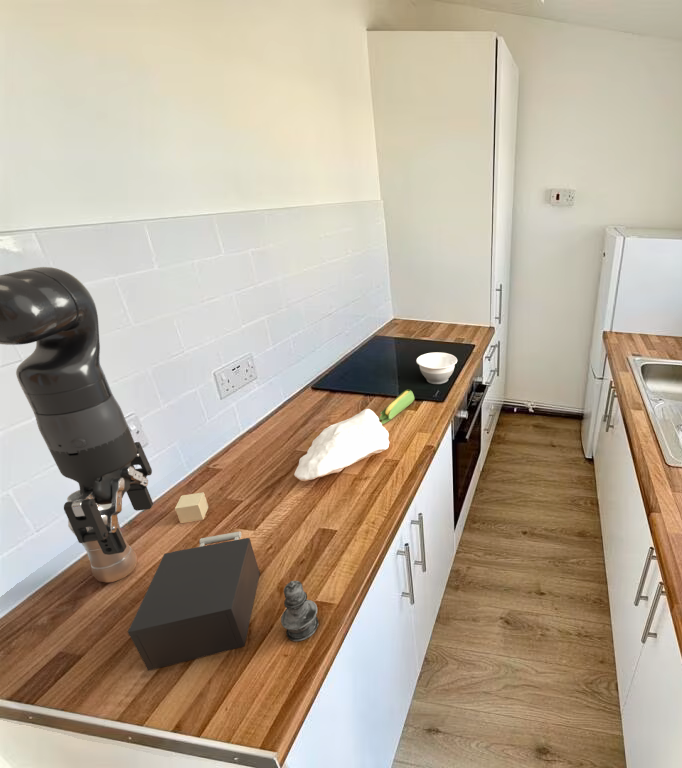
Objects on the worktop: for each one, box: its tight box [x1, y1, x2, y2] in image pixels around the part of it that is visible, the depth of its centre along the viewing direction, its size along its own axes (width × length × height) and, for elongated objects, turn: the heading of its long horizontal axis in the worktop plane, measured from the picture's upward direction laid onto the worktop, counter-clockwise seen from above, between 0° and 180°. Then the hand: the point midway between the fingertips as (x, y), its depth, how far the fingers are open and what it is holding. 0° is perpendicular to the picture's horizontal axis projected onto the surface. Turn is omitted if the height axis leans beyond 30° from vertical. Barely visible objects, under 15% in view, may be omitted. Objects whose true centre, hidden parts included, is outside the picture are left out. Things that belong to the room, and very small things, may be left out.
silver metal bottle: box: [66, 489, 138, 584], centre depth 82 cm, size 6×7×20 cm
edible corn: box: [379, 389, 415, 425], centre depth 148 cm, size 5×20×5 cm, turn 163°
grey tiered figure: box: [280, 580, 319, 642], centre depth 75 cm, size 6×6×12 cm
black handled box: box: [127, 537, 261, 672], centre depth 77 cm, size 16×14×10 cm
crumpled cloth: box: [293, 408, 390, 482], centre depth 122 cm, size 24×35×9 cm
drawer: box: [173, 530, 247, 552], centre depth 80 cm, size 20×13×8 cm, turn 19°
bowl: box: [415, 351, 458, 385], centre depth 171 cm, size 16×16×8 cm
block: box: [174, 491, 209, 524], centre depth 100 cm, size 4×4×4 cm
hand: (131, 528), depth 61 cm, fingers open, 8 cm apart
